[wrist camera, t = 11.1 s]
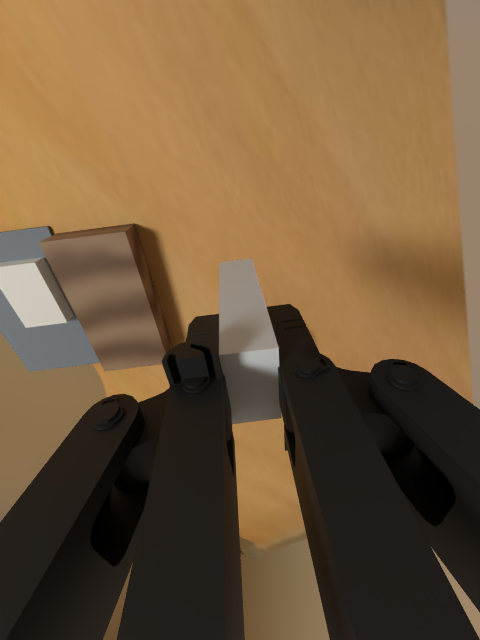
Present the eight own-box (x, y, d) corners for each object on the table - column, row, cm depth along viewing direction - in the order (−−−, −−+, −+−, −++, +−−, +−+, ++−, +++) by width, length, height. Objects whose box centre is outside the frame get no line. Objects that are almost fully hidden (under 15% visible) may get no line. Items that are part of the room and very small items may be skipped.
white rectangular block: (34, 262, 33) (43, 257, 35) (-13, 268, 34) (-2, 262, 35) (67, 322, 38) (73, 315, 40) (25, 327, 38) (33, 320, 40)
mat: (-62, 240, 34) (-65, 241, 33) (48, 225, 34) (47, 226, 33) (30, 369, 45) (29, 371, 45) (112, 359, 45) (111, 361, 45)
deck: (56, 233, 34) (38, 242, 31) (134, 223, 34) (125, 231, 31) (113, 354, 45) (104, 371, 41) (172, 347, 45) (168, 363, 41)
